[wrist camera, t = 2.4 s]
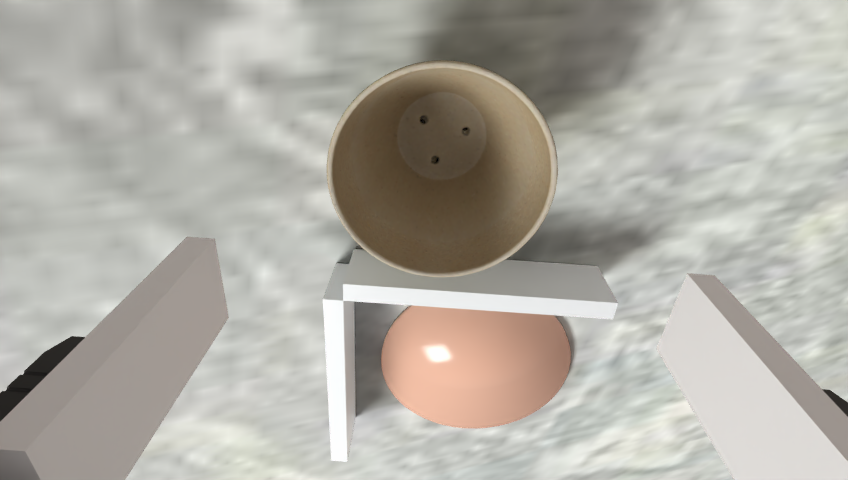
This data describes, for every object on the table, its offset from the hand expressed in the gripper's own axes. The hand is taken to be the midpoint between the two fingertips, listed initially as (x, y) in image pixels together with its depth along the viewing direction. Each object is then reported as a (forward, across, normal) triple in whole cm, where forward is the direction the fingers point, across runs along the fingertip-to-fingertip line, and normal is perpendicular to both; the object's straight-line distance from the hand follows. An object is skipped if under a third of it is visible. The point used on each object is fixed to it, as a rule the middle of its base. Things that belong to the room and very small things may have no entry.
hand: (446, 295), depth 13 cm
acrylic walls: (+15, +2, -16) cm, 22 cm away
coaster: (+15, +4, -17) cm, 23 cm away
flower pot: (+15, 0, 0) cm, 15 cm away
